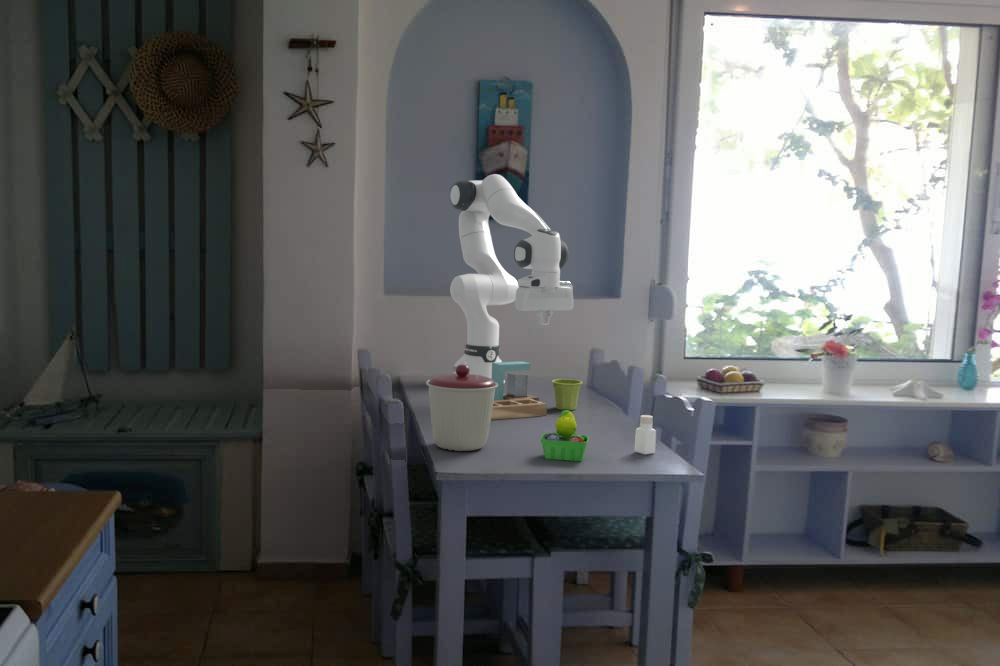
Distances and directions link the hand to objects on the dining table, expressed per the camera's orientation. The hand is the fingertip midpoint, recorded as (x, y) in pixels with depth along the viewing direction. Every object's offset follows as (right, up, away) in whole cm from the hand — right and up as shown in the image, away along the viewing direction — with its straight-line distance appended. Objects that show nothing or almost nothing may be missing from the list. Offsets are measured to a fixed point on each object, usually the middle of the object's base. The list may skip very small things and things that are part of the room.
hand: (543, 324), depth 310 cm
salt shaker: (+23, -33, -60) cm, 73 cm away
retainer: (-12, -24, -4) cm, 27 cm away
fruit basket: (+2, -34, -68) cm, 76 cm away
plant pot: (+7, -26, -4) cm, 28 cm away
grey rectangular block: (-9, -25, -2) cm, 27 cm away
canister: (-24, -32, -62) cm, 73 cm away
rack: (-12, -27, -18) cm, 34 cm away
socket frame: (-16, -26, -6) cm, 31 cm away
